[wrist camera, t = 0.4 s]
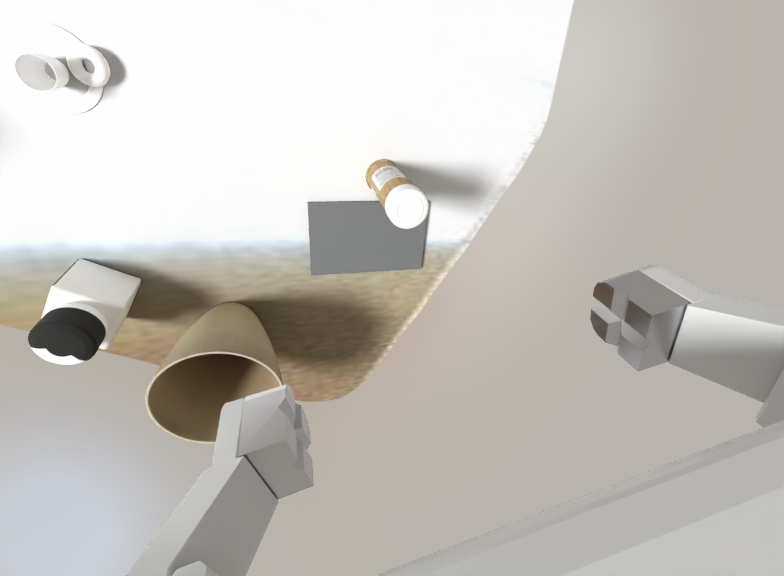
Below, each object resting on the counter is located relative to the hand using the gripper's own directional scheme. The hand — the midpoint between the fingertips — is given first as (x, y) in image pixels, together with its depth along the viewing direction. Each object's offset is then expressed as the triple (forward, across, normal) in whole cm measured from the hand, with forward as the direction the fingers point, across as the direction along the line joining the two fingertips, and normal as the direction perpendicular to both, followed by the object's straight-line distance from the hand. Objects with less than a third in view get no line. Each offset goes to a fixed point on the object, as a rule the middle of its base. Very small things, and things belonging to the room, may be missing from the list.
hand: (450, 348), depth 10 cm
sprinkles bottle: (+44, -6, +10) cm, 45 cm away
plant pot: (+43, +21, +25) cm, 54 cm away
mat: (+43, -2, +18) cm, 47 cm away
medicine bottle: (+44, +34, +14) cm, 57 cm away
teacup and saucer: (+44, +23, -7) cm, 50 cm away
